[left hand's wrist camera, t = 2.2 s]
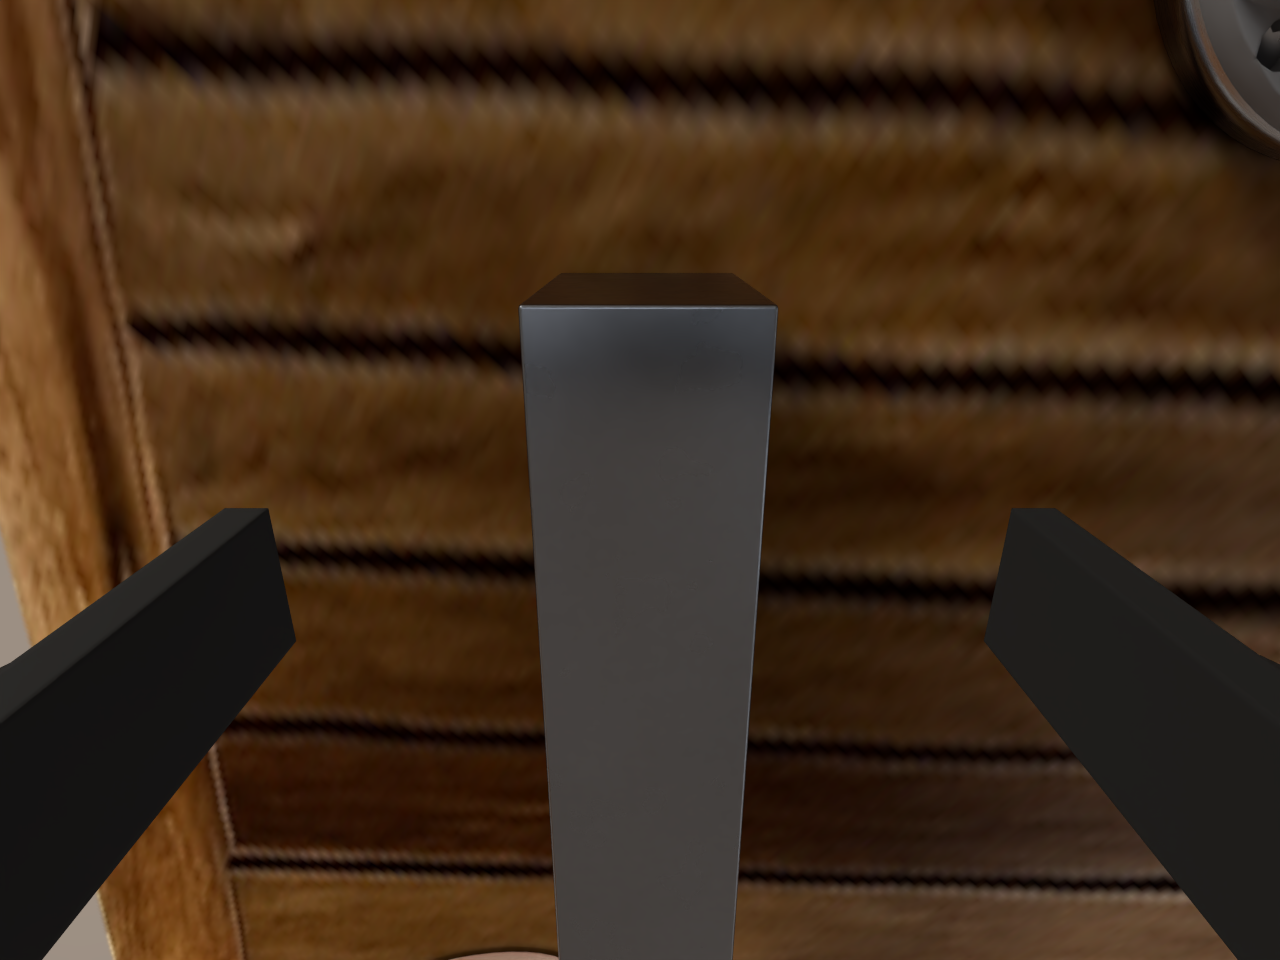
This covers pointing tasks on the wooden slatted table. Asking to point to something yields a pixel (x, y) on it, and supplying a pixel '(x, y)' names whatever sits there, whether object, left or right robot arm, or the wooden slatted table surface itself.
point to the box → (647, 596)
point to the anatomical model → (509, 956)
